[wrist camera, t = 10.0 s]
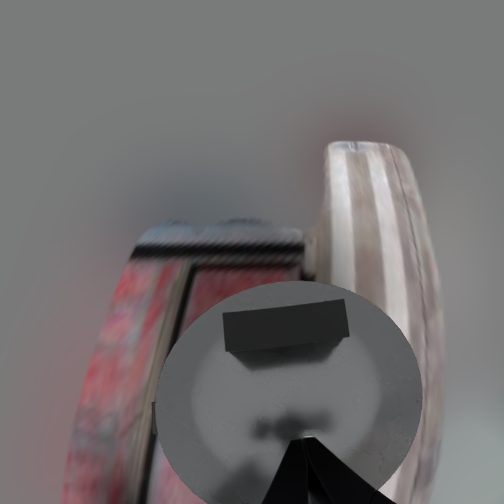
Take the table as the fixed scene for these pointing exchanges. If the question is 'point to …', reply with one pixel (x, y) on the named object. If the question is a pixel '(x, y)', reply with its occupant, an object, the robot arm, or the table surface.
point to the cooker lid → (286, 389)
